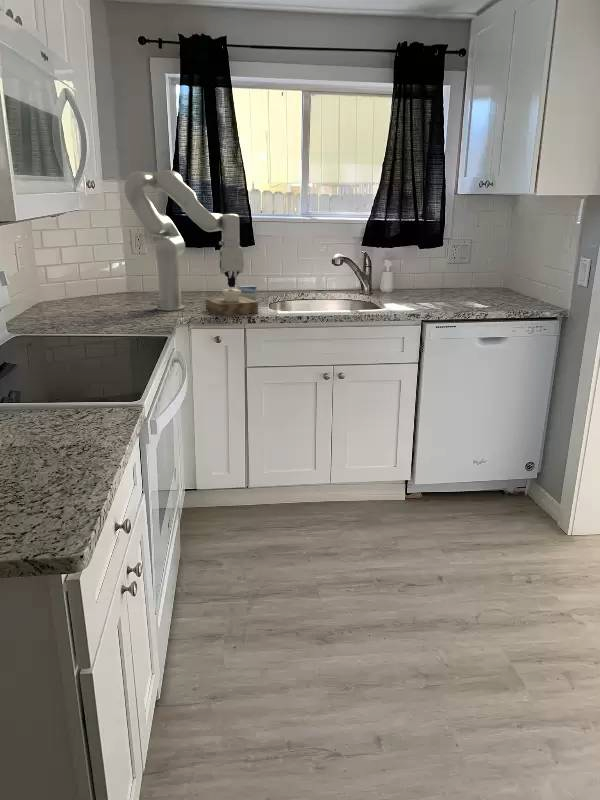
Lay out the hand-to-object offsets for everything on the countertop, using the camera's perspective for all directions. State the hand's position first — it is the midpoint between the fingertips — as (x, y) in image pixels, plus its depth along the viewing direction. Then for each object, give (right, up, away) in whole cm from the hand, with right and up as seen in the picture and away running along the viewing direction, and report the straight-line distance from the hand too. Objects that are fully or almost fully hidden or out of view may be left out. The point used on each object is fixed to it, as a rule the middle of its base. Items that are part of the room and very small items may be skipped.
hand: (231, 286), depth 270 cm
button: (0, -7, +2) cm, 7 cm away
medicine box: (+5, -4, +23) cm, 24 cm away
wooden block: (0, -10, +3) cm, 11 cm away
